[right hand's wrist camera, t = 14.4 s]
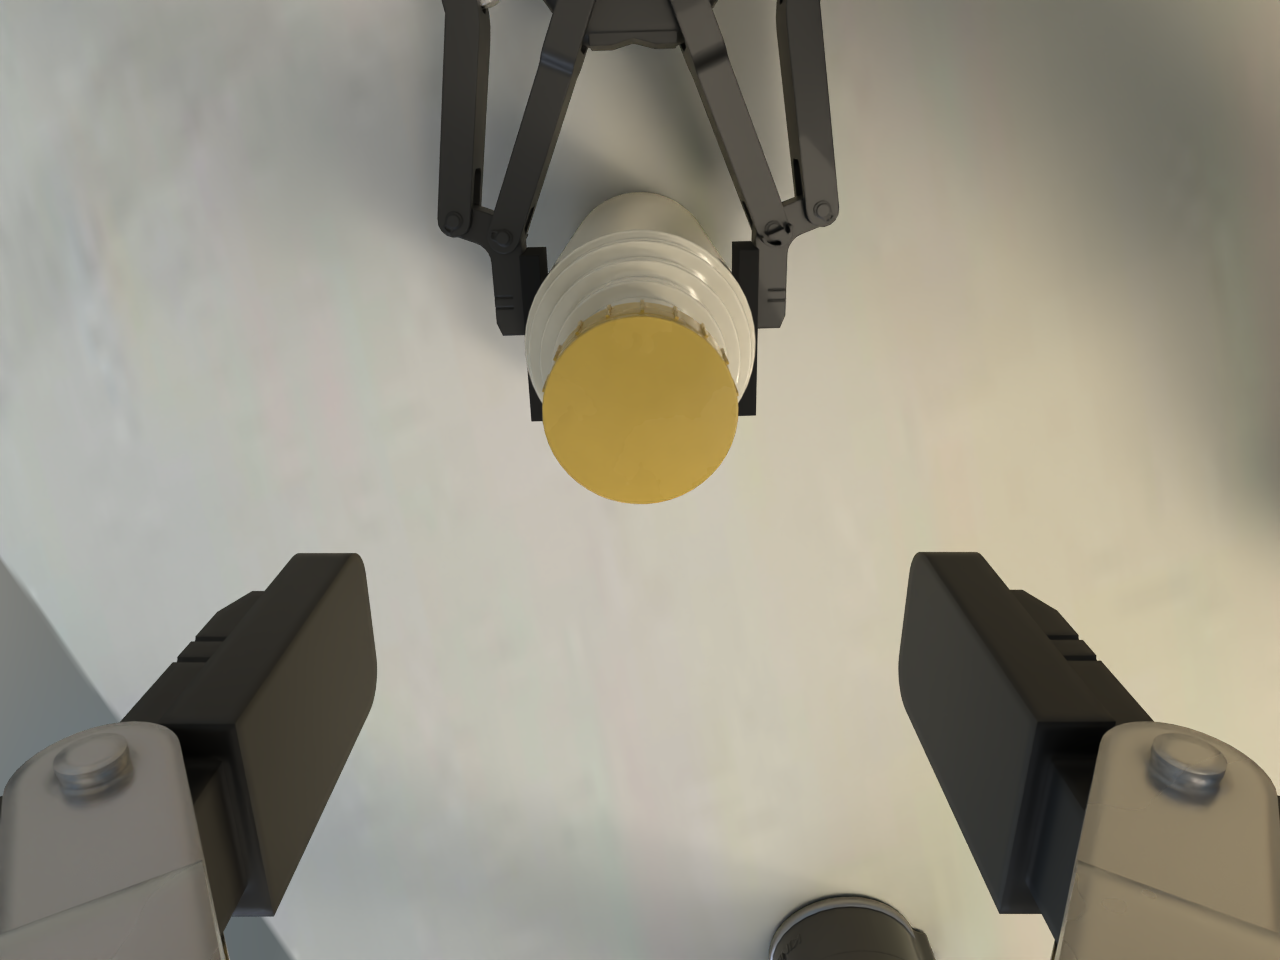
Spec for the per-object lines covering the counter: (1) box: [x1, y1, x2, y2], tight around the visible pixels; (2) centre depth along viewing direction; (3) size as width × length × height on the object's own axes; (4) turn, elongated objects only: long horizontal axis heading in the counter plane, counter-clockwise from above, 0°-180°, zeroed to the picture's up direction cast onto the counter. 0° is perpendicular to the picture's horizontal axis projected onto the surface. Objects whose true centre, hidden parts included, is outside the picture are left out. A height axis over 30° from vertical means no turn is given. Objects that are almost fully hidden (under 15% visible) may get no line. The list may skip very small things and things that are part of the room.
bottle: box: [525, 192, 756, 403], centre depth 31 cm, size 7×7×23 cm
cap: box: [542, 300, 739, 504], centre depth 21 cm, size 4×4×2 cm
